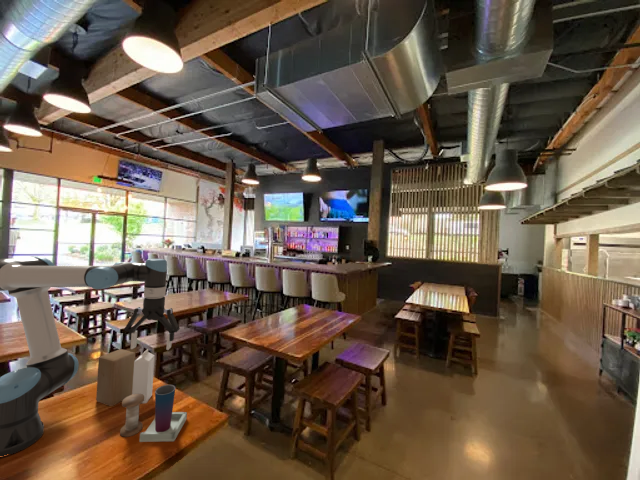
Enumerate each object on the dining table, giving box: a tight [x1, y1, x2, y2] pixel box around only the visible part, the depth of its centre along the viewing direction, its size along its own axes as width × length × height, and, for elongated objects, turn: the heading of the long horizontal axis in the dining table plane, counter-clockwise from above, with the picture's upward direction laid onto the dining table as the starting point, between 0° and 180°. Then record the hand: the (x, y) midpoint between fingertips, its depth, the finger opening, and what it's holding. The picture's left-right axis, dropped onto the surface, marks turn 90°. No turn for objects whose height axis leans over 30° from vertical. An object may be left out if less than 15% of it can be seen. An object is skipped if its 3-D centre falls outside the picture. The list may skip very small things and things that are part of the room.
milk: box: [132, 348, 155, 404], centre depth 120 cm, size 6×6×22 cm
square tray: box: [139, 411, 188, 443], centre depth 103 cm, size 12×12×3 cm
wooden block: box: [95, 348, 136, 407], centre depth 119 cm, size 10×10×20 cm
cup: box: [154, 384, 176, 432], centre depth 103 cm, size 7×7×15 cm
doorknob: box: [119, 394, 144, 438], centre depth 102 cm, size 7×7×12 cm
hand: (151, 348), depth 108 cm, fingers open, 13 cm apart
